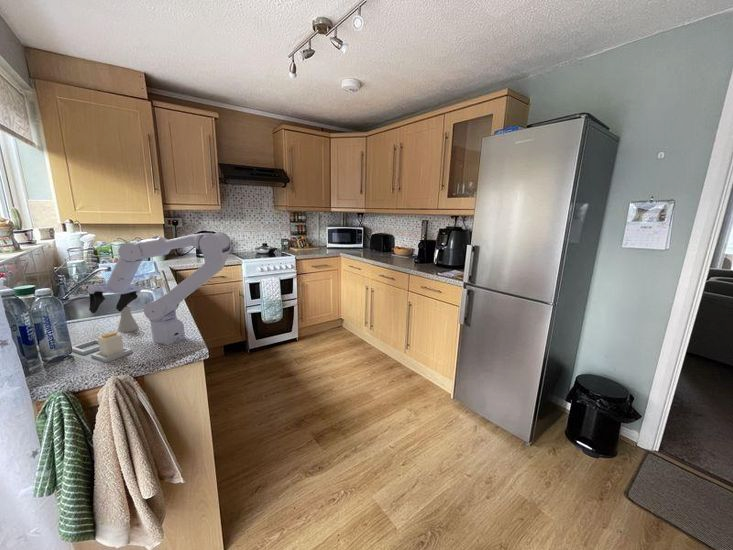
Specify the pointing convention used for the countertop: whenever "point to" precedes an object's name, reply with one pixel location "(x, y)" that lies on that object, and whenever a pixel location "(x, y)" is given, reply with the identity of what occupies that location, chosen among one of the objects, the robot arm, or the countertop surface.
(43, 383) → the countertop surface
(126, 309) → the flask
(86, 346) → the panel
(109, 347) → the plug
